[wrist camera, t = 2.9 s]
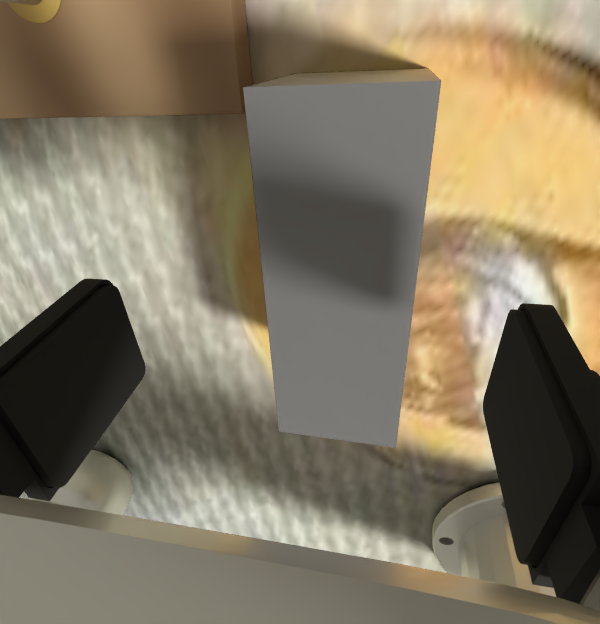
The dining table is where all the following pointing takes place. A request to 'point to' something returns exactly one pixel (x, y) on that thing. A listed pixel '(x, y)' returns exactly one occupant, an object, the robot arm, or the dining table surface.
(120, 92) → the board
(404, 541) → the dining table surface
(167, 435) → the dining table surface
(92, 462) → the plastic bottle
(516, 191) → the dining table surface
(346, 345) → the block
